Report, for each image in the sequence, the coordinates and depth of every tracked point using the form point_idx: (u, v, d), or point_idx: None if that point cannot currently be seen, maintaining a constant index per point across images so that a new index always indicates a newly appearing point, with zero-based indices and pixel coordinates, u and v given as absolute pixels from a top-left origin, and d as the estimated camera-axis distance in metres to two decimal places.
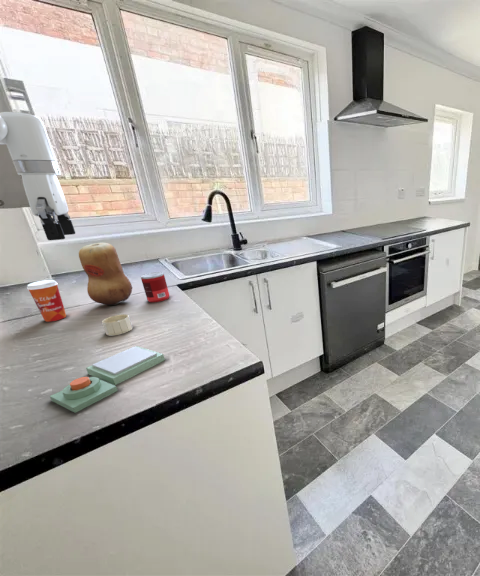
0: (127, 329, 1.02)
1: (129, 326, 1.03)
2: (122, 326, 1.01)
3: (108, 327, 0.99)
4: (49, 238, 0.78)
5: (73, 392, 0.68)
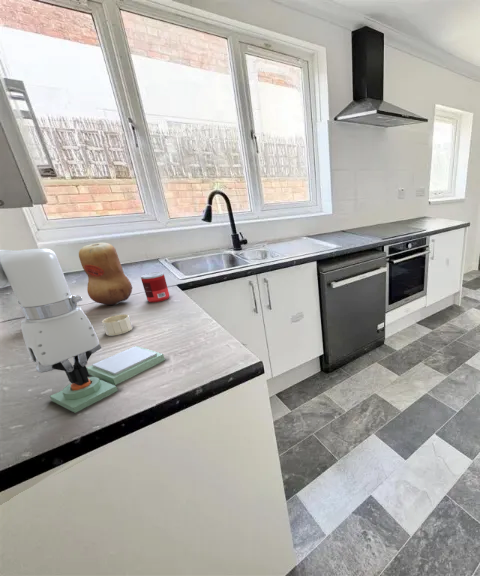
0: (127, 329, 1.02)
1: (129, 326, 1.03)
2: (122, 326, 1.01)
3: (108, 327, 0.99)
4: None
5: (73, 392, 0.68)
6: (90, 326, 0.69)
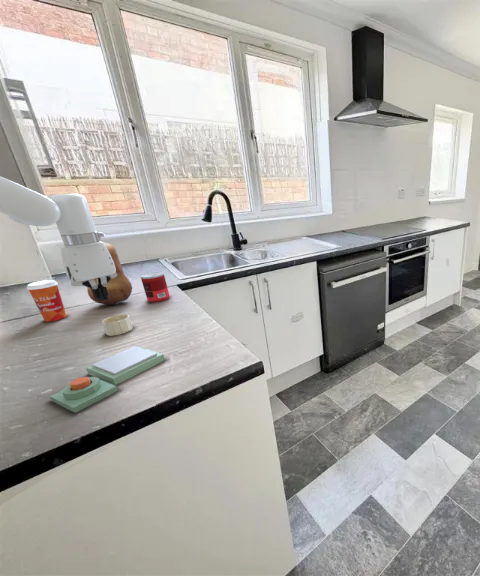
0: (127, 329, 1.02)
1: (129, 326, 1.03)
2: (122, 326, 1.01)
3: (108, 327, 0.99)
4: (97, 298, 0.93)
5: (73, 392, 0.68)
6: (109, 256, 0.92)
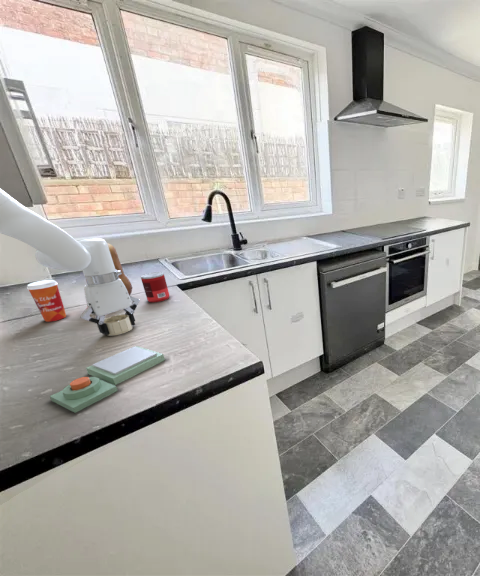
0: (127, 329, 1.02)
1: (129, 326, 1.03)
2: (122, 326, 1.01)
3: (108, 327, 0.99)
4: (102, 332, 1.00)
5: (73, 392, 0.68)
6: (126, 292, 1.02)
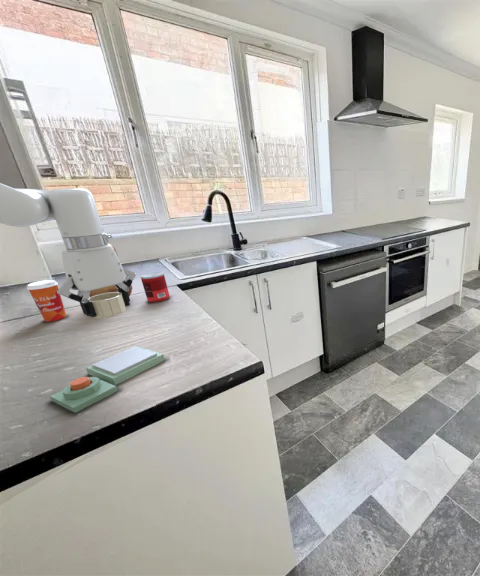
0: (120, 310, 0.79)
1: (122, 307, 0.80)
2: (113, 306, 0.78)
3: (95, 307, 0.76)
4: None
5: (73, 392, 0.68)
6: (119, 262, 0.79)
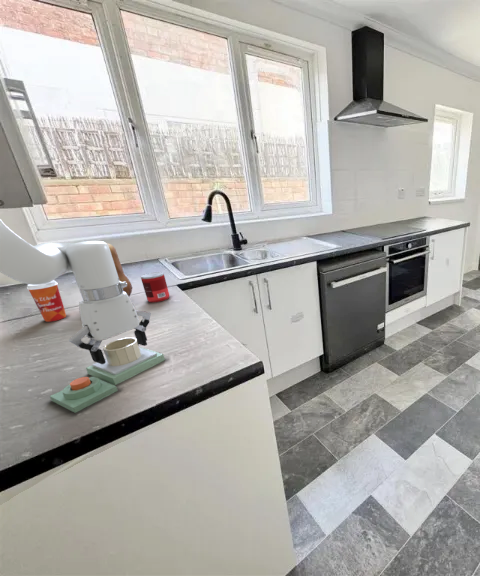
0: (135, 357, 0.81)
1: (137, 353, 0.82)
2: (129, 354, 0.79)
3: (111, 356, 0.77)
4: None
5: (73, 392, 0.68)
6: (133, 308, 0.80)
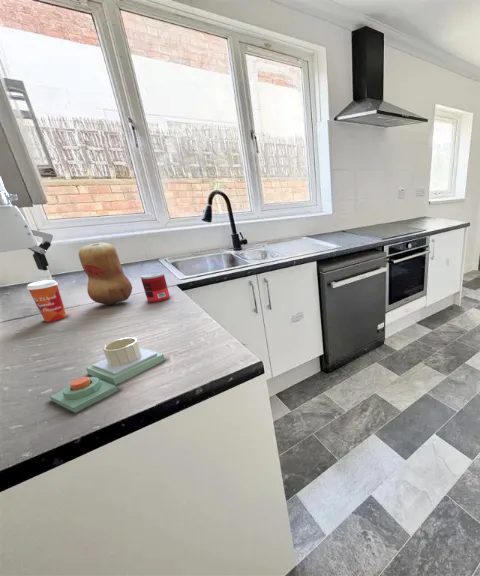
0: (135, 357, 0.81)
1: (137, 353, 0.82)
2: (129, 354, 0.79)
3: (111, 356, 0.77)
4: None
5: (73, 392, 0.68)
6: (26, 225, 0.73)
